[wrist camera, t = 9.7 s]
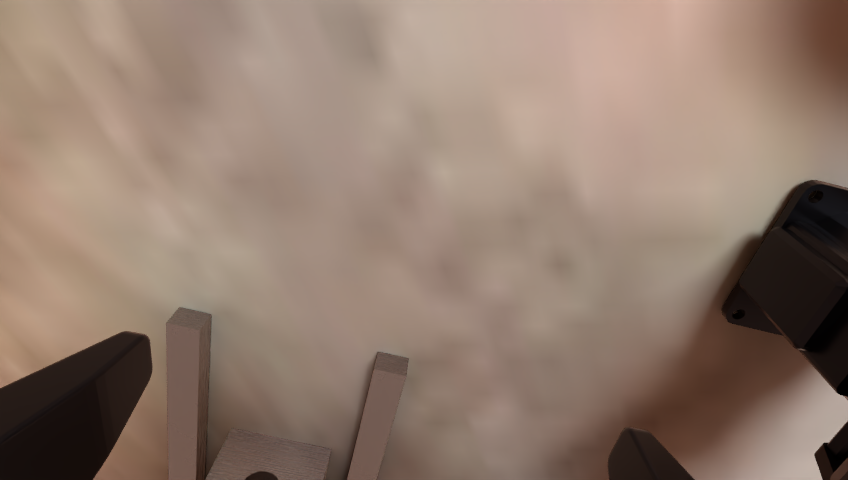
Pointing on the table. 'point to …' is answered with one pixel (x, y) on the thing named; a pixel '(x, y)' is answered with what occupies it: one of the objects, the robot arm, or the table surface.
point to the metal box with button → (268, 459)
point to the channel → (191, 401)
